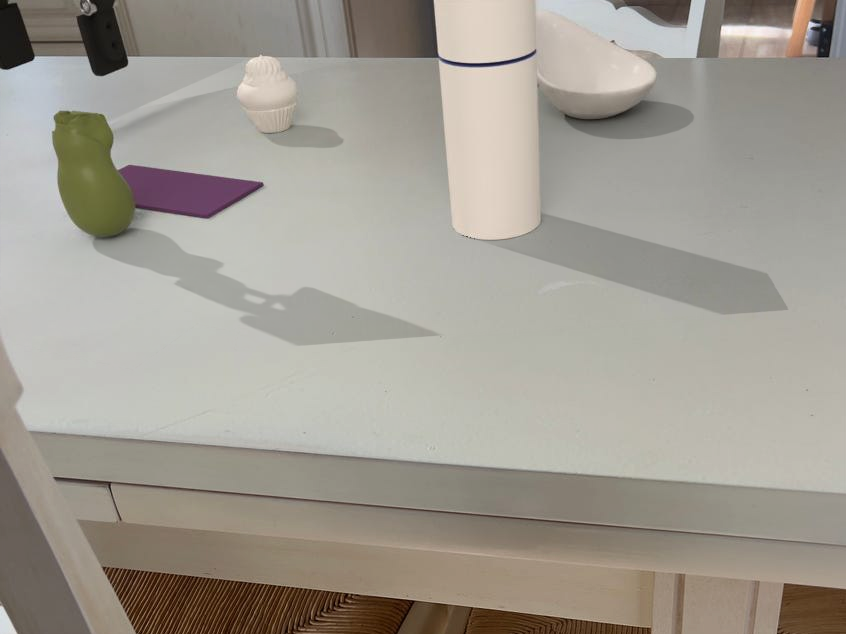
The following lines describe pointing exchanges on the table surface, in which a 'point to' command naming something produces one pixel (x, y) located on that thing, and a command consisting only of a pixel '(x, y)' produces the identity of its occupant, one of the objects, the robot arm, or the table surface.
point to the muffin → (268, 95)
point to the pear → (90, 174)
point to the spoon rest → (587, 70)
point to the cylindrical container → (490, 115)
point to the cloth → (184, 190)
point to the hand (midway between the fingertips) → (63, 67)
